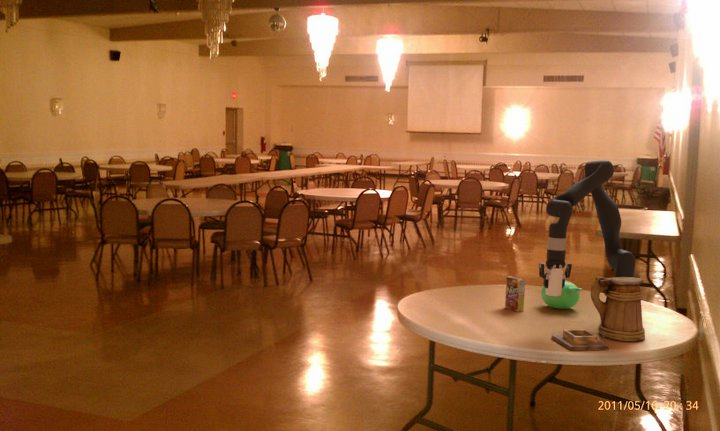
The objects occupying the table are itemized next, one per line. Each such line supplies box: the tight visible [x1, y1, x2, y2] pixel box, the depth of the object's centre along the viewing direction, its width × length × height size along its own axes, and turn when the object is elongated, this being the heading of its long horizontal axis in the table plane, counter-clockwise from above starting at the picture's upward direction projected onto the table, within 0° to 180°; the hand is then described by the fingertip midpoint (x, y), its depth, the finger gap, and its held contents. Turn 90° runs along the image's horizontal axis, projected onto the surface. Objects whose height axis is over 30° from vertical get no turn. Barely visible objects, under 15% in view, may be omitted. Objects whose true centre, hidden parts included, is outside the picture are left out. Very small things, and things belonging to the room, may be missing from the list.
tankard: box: [590, 276, 646, 342], centre depth 292 cm, size 18×24×25 cm
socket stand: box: [551, 328, 609, 351], centre depth 279 cm, size 16×16×4 cm
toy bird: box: [540, 279, 583, 310], centre depth 337 cm, size 18×17×15 cm
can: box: [545, 268, 564, 297], centre depth 291 cm, size 6×6×12 cm
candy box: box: [504, 275, 526, 312], centre depth 331 cm, size 9×4×15 cm, turn 31°
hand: (553, 287), depth 291 cm, fingers closed on can, 6 cm apart
